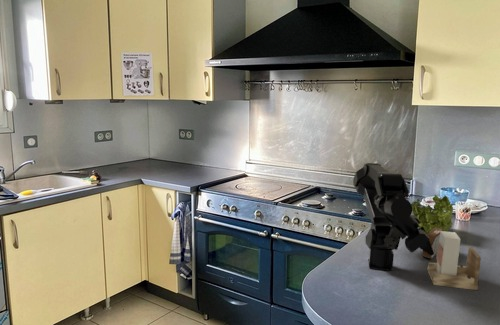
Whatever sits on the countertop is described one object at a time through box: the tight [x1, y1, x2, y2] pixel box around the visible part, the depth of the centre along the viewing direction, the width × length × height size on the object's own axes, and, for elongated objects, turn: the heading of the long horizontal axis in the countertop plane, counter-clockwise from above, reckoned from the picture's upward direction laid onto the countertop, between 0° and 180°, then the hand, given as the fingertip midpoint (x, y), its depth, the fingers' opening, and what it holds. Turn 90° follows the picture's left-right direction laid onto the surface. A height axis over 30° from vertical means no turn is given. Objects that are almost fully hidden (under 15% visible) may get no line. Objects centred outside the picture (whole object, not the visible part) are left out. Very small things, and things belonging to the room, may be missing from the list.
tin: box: [422, 228, 444, 260], centre depth 137 cm, size 15×3×8 cm, turn 141°
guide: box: [426, 246, 482, 291], centre depth 119 cm, size 11×10×9 cm
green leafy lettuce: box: [411, 194, 454, 235], centre depth 158 cm, size 18×16×16 cm
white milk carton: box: [435, 231, 462, 276], centre depth 119 cm, size 4×6×12 cm
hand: (432, 254), depth 120 cm, fingers closed
